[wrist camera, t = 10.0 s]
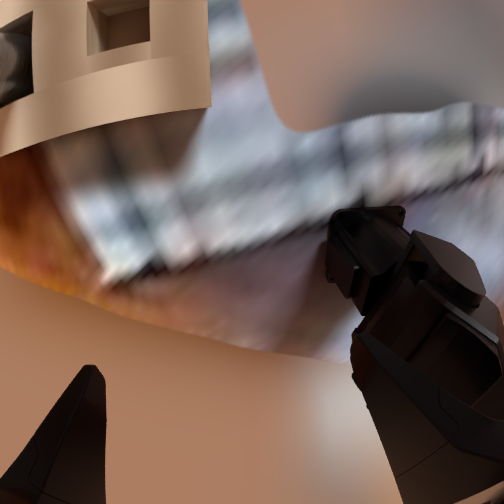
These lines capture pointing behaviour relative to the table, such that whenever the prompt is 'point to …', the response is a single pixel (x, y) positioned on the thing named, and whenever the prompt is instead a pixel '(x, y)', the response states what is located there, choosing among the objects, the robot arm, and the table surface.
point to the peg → (15, 66)
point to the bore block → (105, 64)
